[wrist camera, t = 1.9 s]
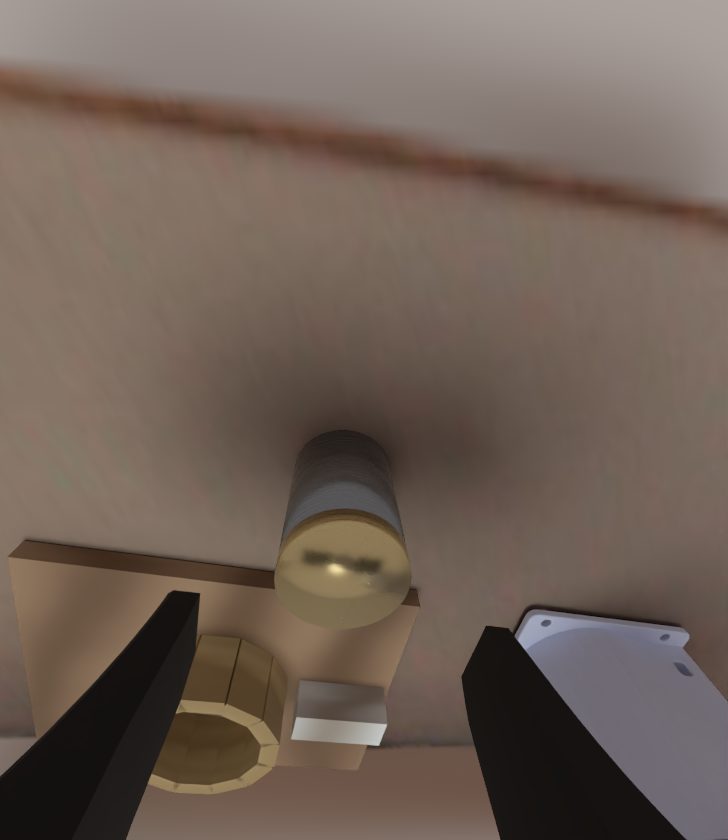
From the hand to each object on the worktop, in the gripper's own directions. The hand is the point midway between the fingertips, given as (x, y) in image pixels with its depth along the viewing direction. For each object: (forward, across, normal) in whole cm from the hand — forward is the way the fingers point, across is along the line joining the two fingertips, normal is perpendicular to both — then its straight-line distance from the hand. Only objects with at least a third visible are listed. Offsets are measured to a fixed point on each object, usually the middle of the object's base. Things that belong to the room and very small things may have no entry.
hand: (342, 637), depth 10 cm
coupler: (+8, 0, 0) cm, 8 cm away
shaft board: (+8, +4, +13) cm, 16 cm away
